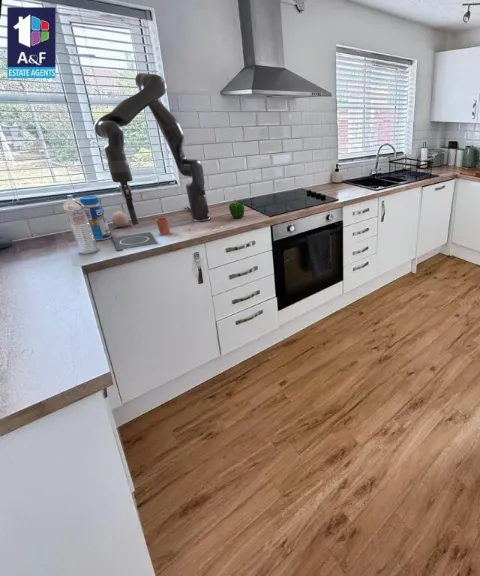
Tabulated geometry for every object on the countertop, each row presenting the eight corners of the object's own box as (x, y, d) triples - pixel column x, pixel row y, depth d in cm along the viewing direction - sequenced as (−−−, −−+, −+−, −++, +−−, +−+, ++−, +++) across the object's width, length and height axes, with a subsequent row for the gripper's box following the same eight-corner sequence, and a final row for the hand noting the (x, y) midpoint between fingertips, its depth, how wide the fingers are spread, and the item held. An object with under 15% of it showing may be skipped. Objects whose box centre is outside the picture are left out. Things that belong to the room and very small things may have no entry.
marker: (132, 225, 174) (124, 197, 168) (138, 224, 175) (130, 197, 169) (133, 226, 172) (125, 198, 166) (139, 225, 173) (131, 198, 168)
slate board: (112, 238, 180) (112, 237, 180) (150, 233, 189) (149, 231, 189) (117, 251, 166) (117, 249, 166) (157, 244, 175) (157, 242, 175)
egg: (133, 225, 200) (128, 209, 196) (125, 229, 193) (120, 213, 190) (119, 224, 199) (114, 209, 196) (111, 228, 193) (106, 213, 189)
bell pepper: (242, 219, 215) (240, 202, 211) (228, 218, 215) (226, 201, 211) (247, 215, 223) (245, 198, 218) (234, 214, 223) (231, 198, 218)
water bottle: (78, 255, 160) (57, 197, 149) (81, 250, 166) (61, 194, 155) (97, 253, 163) (78, 196, 152) (99, 248, 169) (81, 193, 157)
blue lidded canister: (89, 237, 180) (75, 196, 171) (109, 234, 186) (97, 194, 177) (93, 242, 175) (79, 200, 166) (114, 238, 181) (101, 197, 172)
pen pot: (159, 233, 188) (155, 218, 185) (169, 232, 191) (166, 217, 188) (161, 236, 185) (157, 221, 182) (171, 234, 188) (168, 219, 184)
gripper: (132, 171, 159) (142, 211, 167) (127, 167, 169) (138, 204, 177) (111, 173, 155) (123, 213, 163) (108, 168, 165) (119, 206, 173)
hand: (131, 208), depth 170 cm, fingers closed on marker, 2 cm apart
